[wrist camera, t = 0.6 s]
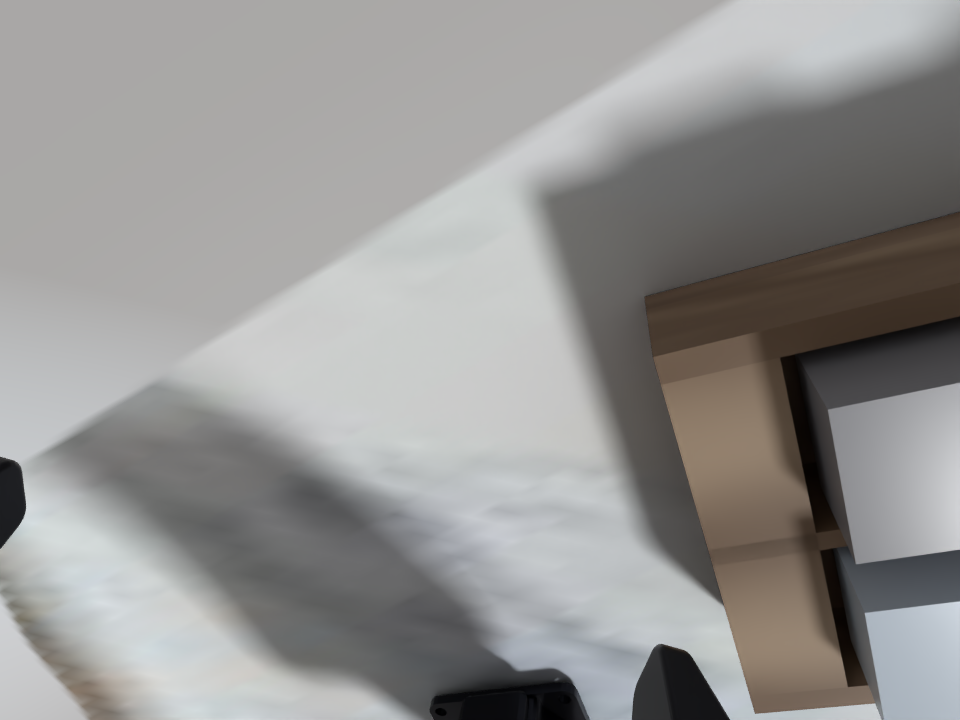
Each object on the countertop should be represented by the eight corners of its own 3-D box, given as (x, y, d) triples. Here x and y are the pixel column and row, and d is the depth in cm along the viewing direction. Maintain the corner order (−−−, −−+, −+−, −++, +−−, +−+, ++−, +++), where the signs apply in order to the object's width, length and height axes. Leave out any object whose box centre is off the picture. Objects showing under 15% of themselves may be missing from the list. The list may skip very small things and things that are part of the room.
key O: (1003, 454, 18) (1074, 532, 15) (820, 487, 19) (855, 564, 16) (993, 302, 16) (1070, 360, 13) (793, 348, 17) (828, 409, 15)
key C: (1015, 622, 20) (1078, 715, 17) (851, 640, 21) (885, 730, 19) (1007, 503, 18) (1075, 586, 16) (829, 531, 20) (864, 613, 17)
